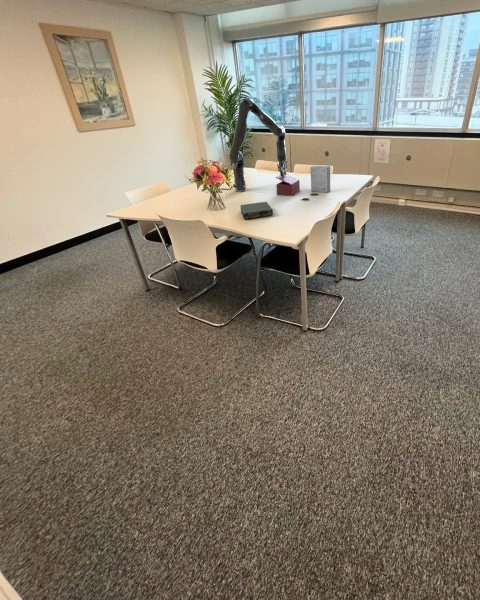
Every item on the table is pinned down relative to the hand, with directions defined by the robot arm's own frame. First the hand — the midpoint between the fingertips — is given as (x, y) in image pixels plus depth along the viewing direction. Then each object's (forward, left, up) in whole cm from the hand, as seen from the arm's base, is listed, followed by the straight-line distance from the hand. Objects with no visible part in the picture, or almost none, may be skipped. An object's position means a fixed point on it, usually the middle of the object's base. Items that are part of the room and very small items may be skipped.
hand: (283, 175), depth 268 cm
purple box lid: (+4, +1, -3) cm, 5 cm away
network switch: (+23, -51, -15) cm, 57 cm away
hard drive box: (+23, +22, -15) cm, 35 cm away
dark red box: (+4, +1, -15) cm, 15 cm away
